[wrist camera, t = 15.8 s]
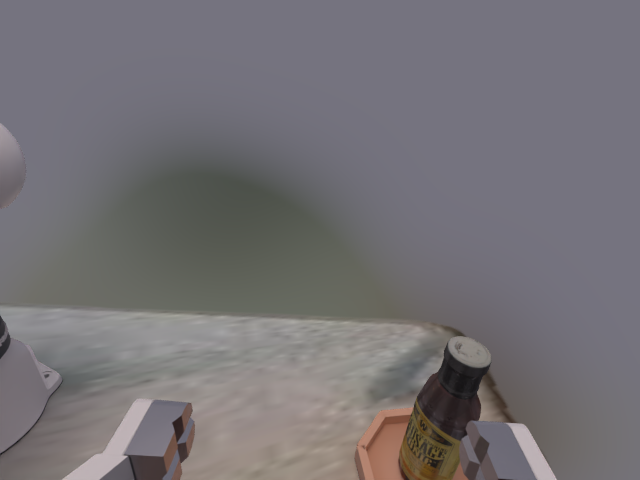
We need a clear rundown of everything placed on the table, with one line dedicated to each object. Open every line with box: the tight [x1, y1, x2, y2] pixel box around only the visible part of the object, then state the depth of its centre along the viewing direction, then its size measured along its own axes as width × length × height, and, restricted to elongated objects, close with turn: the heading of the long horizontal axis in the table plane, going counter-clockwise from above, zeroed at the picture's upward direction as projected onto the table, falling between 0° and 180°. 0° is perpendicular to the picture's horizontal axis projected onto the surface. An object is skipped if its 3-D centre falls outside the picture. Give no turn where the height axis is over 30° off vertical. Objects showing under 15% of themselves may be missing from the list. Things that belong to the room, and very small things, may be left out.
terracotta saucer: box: [355, 408, 469, 480], centre depth 41 cm, size 15×15×2 cm
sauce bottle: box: [398, 336, 491, 480], centre depth 37 cm, size 7×6×20 cm
